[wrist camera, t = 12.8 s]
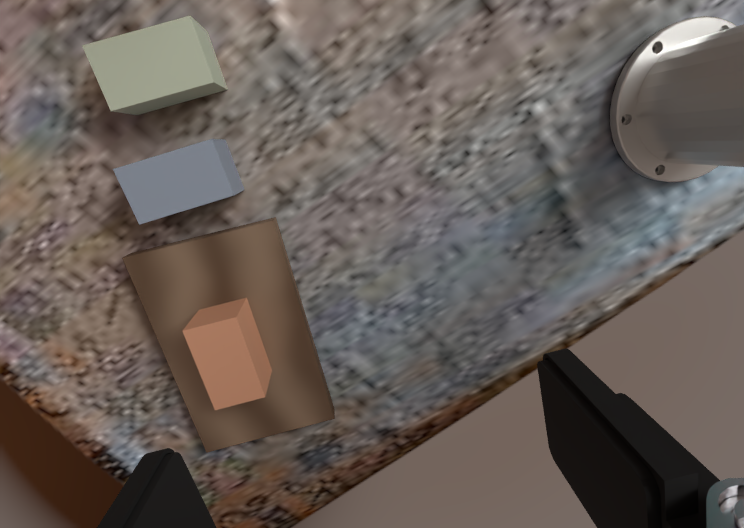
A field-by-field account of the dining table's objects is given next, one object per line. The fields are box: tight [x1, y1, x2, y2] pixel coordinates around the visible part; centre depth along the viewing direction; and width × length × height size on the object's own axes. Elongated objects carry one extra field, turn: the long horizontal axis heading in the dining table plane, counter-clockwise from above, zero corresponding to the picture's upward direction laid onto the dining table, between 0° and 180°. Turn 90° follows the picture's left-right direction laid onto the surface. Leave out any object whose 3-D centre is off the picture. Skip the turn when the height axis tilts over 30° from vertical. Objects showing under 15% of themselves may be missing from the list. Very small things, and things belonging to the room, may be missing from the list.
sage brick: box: [82, 16, 228, 115], centre depth 28 cm, size 7×4×4 cm, turn 106°
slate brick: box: [113, 139, 244, 225], centre depth 30 cm, size 7×4×4 cm, turn 107°
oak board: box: [122, 217, 334, 452], centre depth 35 cm, size 12×19×2 cm, turn 14°
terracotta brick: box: [183, 298, 272, 410], centre depth 33 cm, size 7×4×4 cm, turn 14°
